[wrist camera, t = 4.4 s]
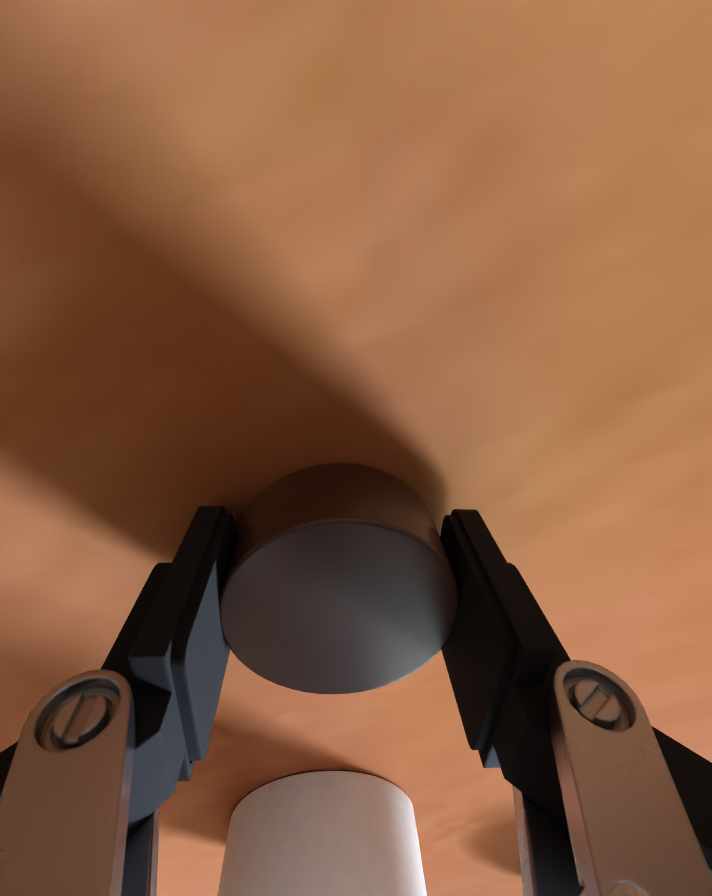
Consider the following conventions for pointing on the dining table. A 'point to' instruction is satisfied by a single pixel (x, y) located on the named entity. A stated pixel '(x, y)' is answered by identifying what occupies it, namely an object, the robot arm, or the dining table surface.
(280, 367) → the dining table surface
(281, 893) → the cream bottle
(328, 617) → the brown disc
